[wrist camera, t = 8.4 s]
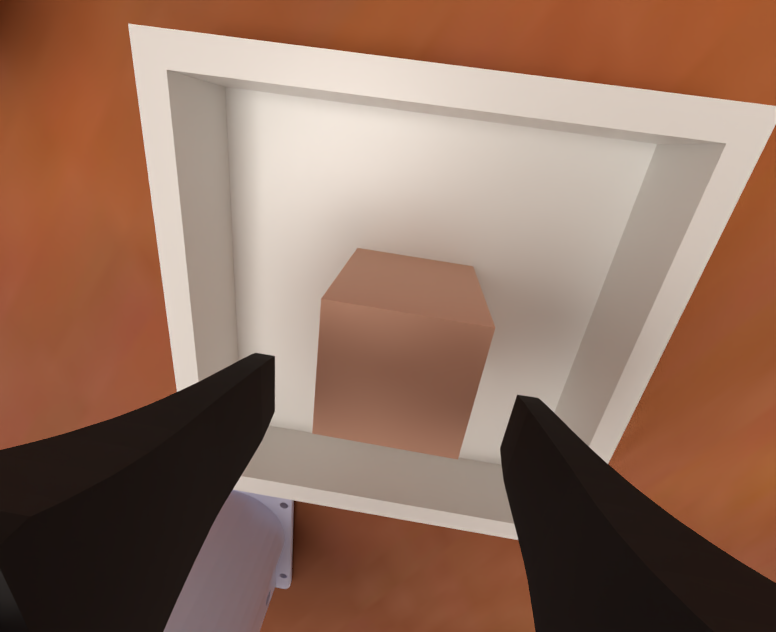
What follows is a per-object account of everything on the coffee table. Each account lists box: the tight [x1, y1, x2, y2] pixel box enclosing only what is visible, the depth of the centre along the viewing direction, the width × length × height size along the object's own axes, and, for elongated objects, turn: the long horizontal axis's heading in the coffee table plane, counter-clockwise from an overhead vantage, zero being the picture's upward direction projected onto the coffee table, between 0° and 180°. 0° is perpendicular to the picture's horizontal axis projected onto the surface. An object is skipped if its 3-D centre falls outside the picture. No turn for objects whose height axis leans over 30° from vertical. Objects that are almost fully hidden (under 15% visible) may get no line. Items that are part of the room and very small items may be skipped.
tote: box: [128, 24, 776, 540], centre depth 16 cm, size 18×18×4 cm
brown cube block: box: [312, 248, 495, 459], centre depth 15 cm, size 5×5×6 cm
